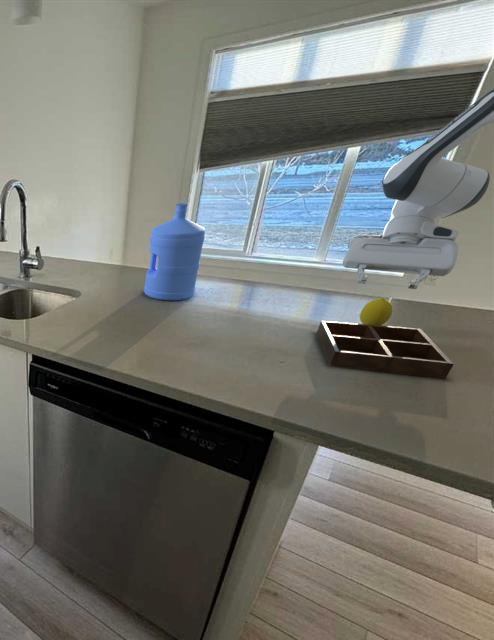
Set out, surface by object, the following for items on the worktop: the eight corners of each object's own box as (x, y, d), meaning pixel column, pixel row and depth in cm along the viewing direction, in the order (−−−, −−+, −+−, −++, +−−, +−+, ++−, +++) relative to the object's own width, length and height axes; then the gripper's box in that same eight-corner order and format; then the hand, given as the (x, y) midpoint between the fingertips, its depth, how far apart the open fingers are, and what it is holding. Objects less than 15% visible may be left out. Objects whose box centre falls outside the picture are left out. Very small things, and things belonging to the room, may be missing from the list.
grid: (413, 342, 94) (420, 328, 92) (445, 379, 80) (454, 363, 79) (316, 333, 102) (320, 320, 100) (329, 365, 88) (335, 351, 87)
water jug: (200, 290, 136) (217, 200, 122) (184, 304, 127) (201, 208, 113) (154, 284, 146) (165, 200, 132) (136, 297, 136) (146, 207, 122)
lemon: (364, 322, 105) (377, 293, 101) (389, 330, 101) (403, 299, 97) (349, 326, 104) (361, 296, 100) (373, 334, 99) (387, 303, 95)
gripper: (354, 227, 106) (335, 273, 105) (468, 231, 93) (449, 284, 92) (350, 241, 111) (332, 285, 110) (458, 247, 98) (439, 297, 97)
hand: (386, 285), depth 101 cm, fingers open, 8 cm apart
